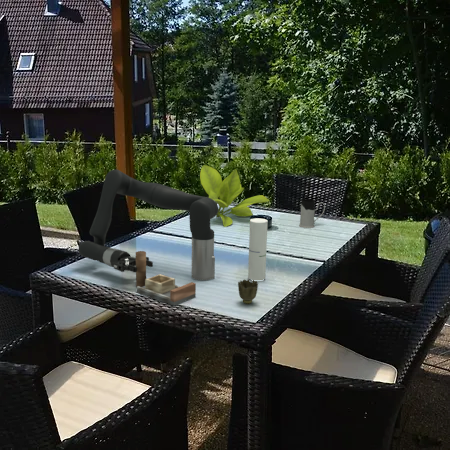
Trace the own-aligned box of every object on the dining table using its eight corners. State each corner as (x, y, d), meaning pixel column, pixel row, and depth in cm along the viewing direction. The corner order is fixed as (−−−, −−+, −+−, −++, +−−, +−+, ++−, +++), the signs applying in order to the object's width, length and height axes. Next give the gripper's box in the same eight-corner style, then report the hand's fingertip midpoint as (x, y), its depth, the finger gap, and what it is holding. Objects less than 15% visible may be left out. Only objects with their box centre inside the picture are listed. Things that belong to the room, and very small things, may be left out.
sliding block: (145, 289, 216) (145, 279, 215) (160, 283, 222) (160, 274, 221) (160, 294, 211) (160, 284, 210) (175, 288, 217) (175, 278, 216)
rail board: (136, 292, 217) (136, 279, 215) (158, 284, 225) (157, 271, 224) (174, 306, 205) (174, 291, 203) (195, 297, 213) (195, 283, 212)
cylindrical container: (247, 275, 238) (249, 218, 232) (264, 276, 238) (267, 218, 232) (248, 281, 231) (250, 222, 225) (265, 281, 231) (268, 222, 225)
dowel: (146, 284, 225) (145, 250, 222) (146, 287, 222) (146, 253, 218) (136, 284, 225) (135, 251, 221) (136, 288, 221) (135, 254, 217)
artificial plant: (198, 238, 314) (222, 200, 297) (177, 185, 340) (197, 147, 323) (259, 242, 337) (284, 207, 320) (234, 192, 363) (256, 157, 346)
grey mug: (297, 224, 324) (298, 198, 320) (321, 224, 326) (323, 198, 322) (301, 228, 316) (302, 202, 312) (325, 228, 317) (327, 202, 314)
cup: (234, 305, 207) (235, 284, 205) (241, 298, 214) (241, 278, 212) (253, 308, 204) (254, 287, 202) (260, 301, 211) (260, 281, 209)
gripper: (102, 253, 223) (130, 262, 214) (129, 246, 234) (157, 254, 224) (103, 271, 225) (130, 281, 215) (130, 263, 236) (157, 271, 226)
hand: (144, 267), depth 220 cm, fingers open, 8 cm apart
